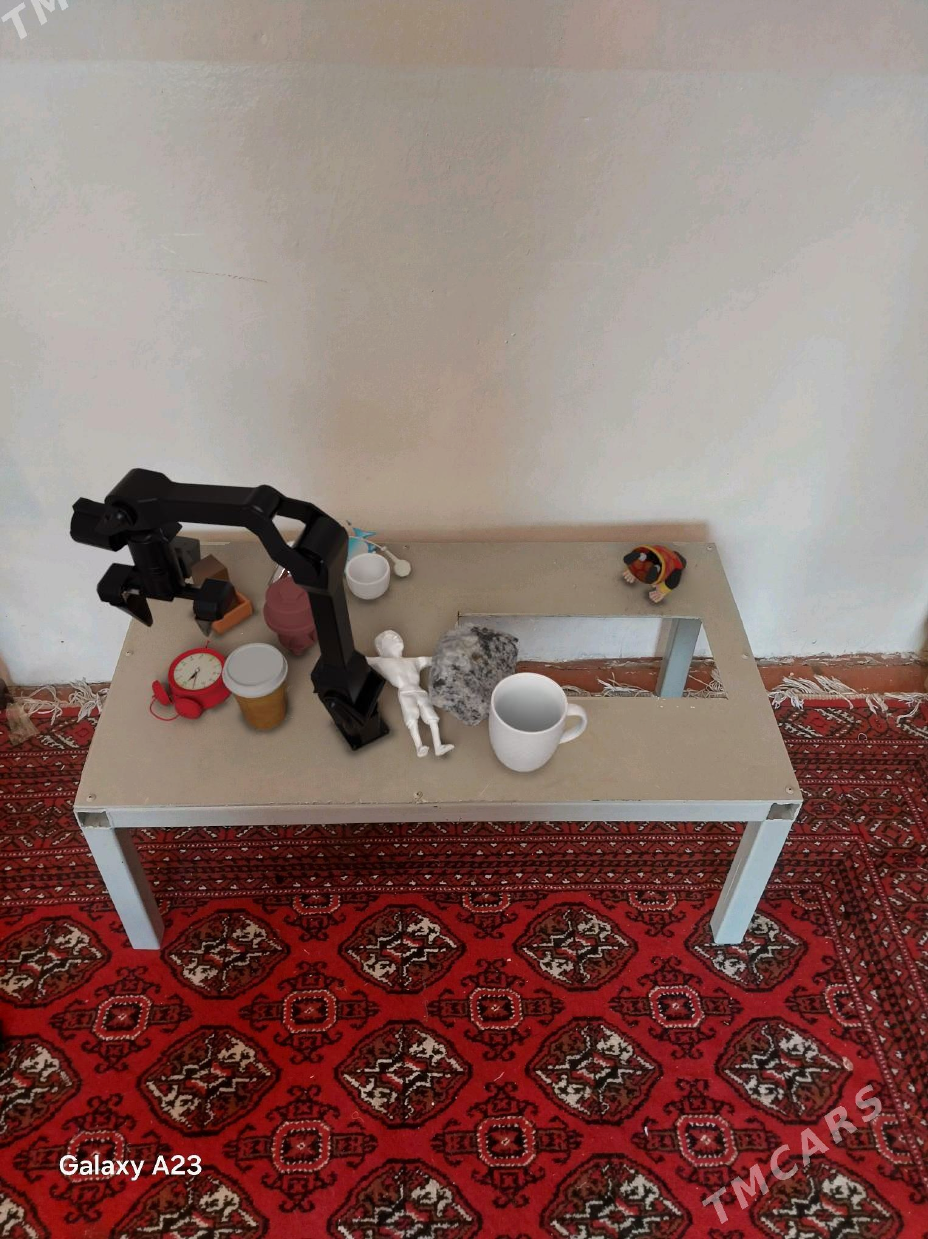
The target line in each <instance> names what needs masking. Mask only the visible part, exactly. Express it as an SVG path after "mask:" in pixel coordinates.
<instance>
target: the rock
mask: <svg viewBox="0 0 928 1239" xmlns="http://www.w3.org/2000/svg"><path fill="white" fill-rule="evenodd" d="M518 642H519V638H518V637H515V636H513V635H511V634H510V633H507V632H504V631H502V630H500V629H499V628H496V627H494V626H491V625H489V624H485V625H483V624H477V623H474V622H469V621H465V622H464V623H461V624H458V625H457V626H455V628H449V629H447V630H446V631H445V633H444V634H443V635H441V636H440V637H439V638H438V639H437V642H436V644H434V647H433V655H432V656H433V657H432V656H431V657H432V660H431V663H432V666H430V668H429V673H428V674H429V676H428V684H427V688H428V694H429V698H430V701H431V704H432V705H433V706H435V707H437V708H441V709H442V710H444V711H445V712H446V713H449V714H451V715H452V717H453V718H455V719H457V721H459V722H462V723H463V724H465V725H467V726H469V727H476V726H479V724H480V723H481V722H482V721H483V720H484V719H487V718H489V711H490V703H491V696H492V693H493V690H494V688H495V687H496V686H497V684H498V683H499V682H500V681H502V680H503V679H505V678H506V677H508V676H511V675H514V674H517V661H518V656H519V649H518V647H517V646H516V645H517V643H518Z"/></svg>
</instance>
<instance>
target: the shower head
mask: <svg viewBox="0 0 928 1239" xmlns="http://www.w3.org/2000/svg"><path fill="white" fill-rule="evenodd" d="M333 519H335V520H336V521H337V520H344V521H345V522H346V523H347V526H348V527H350V526H351V527H352V525H353V522H352V519H351V518H350V517H348V518H346V517H341V516H338V517H335V518H333ZM354 536H355V535H354ZM354 536H353V535H349V538H356V539H360V540H363V541H366V542H367V543H368V544H370V545H375V546H377V548H379V549H380V551H381V552H383V553H384V554H385V555H386V556H387V557H388V558H389V559H390V560H391V561H392V562H393V563H394V565H393V567H392V568H393V571H394V575H397V576H398V577H400V578H401V577H406V576H409V574H410V572H411V570H412V569H411V564H410V562H408V561H407V560H405V559H399V558H398V557H396V556H395V555H394V554H393V553H391V551H389V550H388V546H387V545H385V546H380V545H379V544H377V543H375V542H373V541H371V540H368V539H367V538H365V539H363V538H359V537H354Z"/></svg>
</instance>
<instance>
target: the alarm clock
mask: <svg viewBox="0 0 928 1239" xmlns="http://www.w3.org/2000/svg"><path fill="white" fill-rule="evenodd" d="M209 643H211V642H210V640H209V639H207V640H206V644H205V646H204V647H196V648H192V649H188V650H186V651H184V652H182V653H180V654H179V655H178V656H176V657H175V659H174V660H172V662H171V663H170V665H169V667H168V671H167V681H168V684H167V685H168V687H167V689H168V690H167V691H168V694H169V695H168V694H167V692H166V690H165V688H164V687H163V685H162V683H161V682H160V681H159V679H156V680H153V682H152V684H151V689H152V693H153V695H152V696H151V699H153V700H152V701H151V702H150V705H149V712H150V714H151V715H153V716H154V718H156V719H158V720H161V721H164V722H170V721H173V720H175V719H177V718H179V717H182V718H184V719H188V720H196V719H199V718H200V716H201V715H202V713H203V711H204V710H208V709H211V708H214V707H216V706H218V705H219V704H221V703H223V702H224V701H225V700H226V699H227V698H229V697H230V695H231V694H232V691H230V690H229V689H228V688H227V687H226V685H225V683H224V681H223V677H222V671H223V668H224V665H225V662H226V660H227V658H225V657H224V655H223V654H222V653H221V652H219V651H217V650H215V649H214V648H211V647H208V645H209ZM170 699H171V700H172V701H171V700H170ZM156 700H157V701H158V703H159V704H161V705H162V706H169V705H172V706H174V710H175V711H176V713H177V715H175V716H173V717H172V718H162V717H160V716H158V715H156V713H154V712H153V710H152V706H153V704H154V703H155V702H156Z"/></svg>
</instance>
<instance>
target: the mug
mask: <svg viewBox="0 0 928 1239" xmlns="http://www.w3.org/2000/svg"><path fill="white" fill-rule="evenodd" d="M572 716H578V717H580V719H579V721H578V723H576V724H575V725H573V727H570V729H567V730H566V731H564V729H565V725H566V723H567V722H566V721H567V717H572ZM588 719H589V718H588V715H587V712H586V710H585V709H584V708H583V707H582V706H581V705H580V704H576V703H572V702H568V698H567V694H566V692H565V691H564V689H563V688H562V687H561V686H560V685H559V683H557V682H556V681H555V680H553V679H551V678H550V677H548V676H546V675H544V674H541V673H540V674H539V673H535V672H518V673H515V674H514V675H511V676H508V677H506V678H505V679H503V680H502V681H500V682H499V683H498V684H497V686H496V687H495V688H494V690H493V693H492V696H491V703H490V711H489V716H488V736H489V741H490V743H491V747H492V750H493V752H494V754H495V756H497V759H498V761H500V762H501V763H502V764H503V765H504V766H505V767H506V768H508V769H510V770H512V771H515V772H518V773H519V772H520V773H528V772H532V771H536V770H537V769H539V768H542V767H543V766H544V765H545V764H546V763H547V762H548V761H549V760H550V759H551V758H552V757H553V755H554V753H555V752H556V750H557V748H558V747H559V745H560V744H564V743H568V742H570V741H572V740H574V739H576V738H577V737H579V736H581V734H583V732H584V731H585V730H586V729H587V726H588V722H589V720H588Z"/></svg>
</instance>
